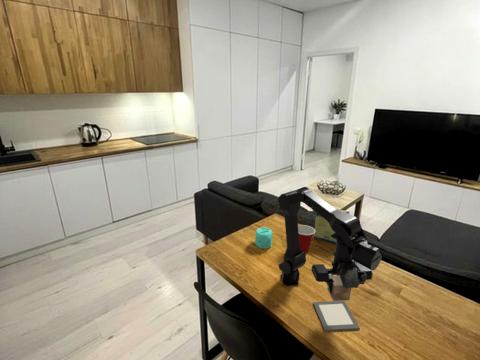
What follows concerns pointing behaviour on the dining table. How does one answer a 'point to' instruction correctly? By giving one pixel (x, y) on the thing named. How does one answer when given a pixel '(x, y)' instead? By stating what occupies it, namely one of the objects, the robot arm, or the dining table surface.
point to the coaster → (335, 316)
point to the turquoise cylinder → (263, 238)
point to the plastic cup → (305, 237)
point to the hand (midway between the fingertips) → (338, 291)
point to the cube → (339, 290)
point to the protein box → (324, 229)
